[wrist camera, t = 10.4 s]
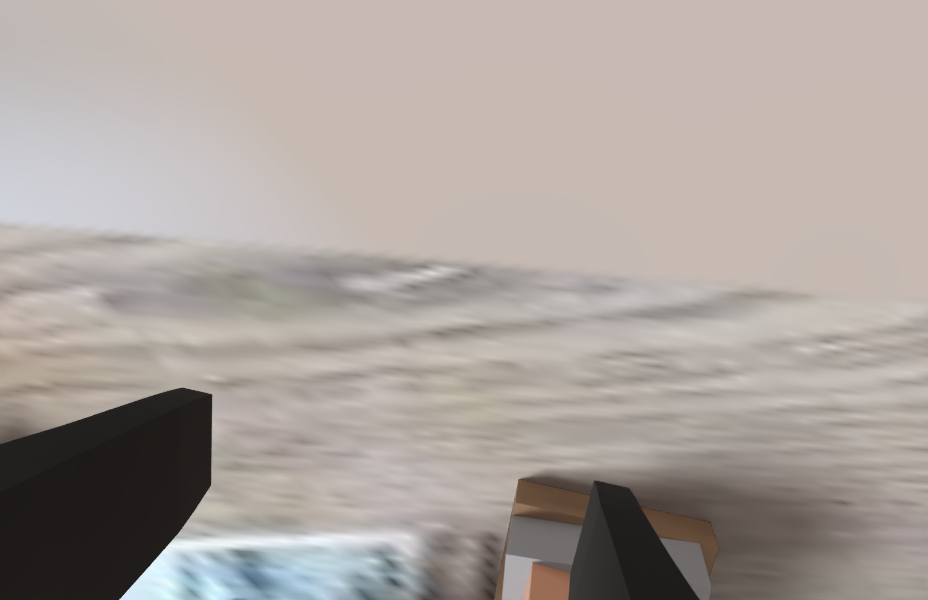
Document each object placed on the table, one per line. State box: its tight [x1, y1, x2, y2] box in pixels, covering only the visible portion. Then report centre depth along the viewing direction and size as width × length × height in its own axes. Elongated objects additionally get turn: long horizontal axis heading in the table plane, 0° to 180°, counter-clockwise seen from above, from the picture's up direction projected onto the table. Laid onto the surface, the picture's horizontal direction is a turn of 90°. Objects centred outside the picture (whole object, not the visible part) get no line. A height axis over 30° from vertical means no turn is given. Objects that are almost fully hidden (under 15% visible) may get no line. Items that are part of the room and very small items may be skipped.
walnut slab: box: [494, 480, 719, 600], centre depth 23 cm, size 7×7×2 cm
